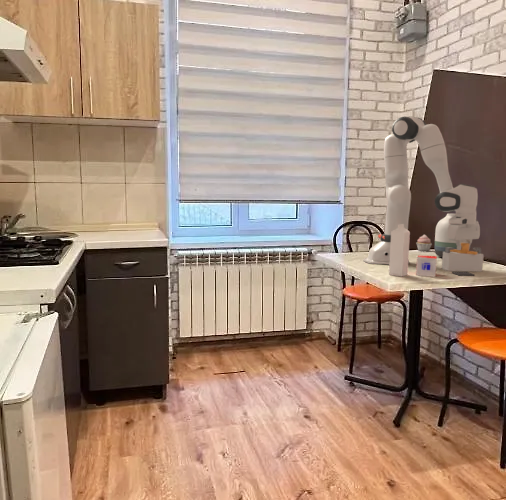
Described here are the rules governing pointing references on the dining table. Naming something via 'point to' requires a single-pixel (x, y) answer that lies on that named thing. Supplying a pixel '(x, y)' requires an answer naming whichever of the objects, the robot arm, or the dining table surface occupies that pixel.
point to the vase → (444, 236)
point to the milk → (399, 251)
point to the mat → (463, 273)
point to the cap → (464, 249)
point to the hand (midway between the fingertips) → (463, 249)
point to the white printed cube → (426, 265)
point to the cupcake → (424, 243)
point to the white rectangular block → (462, 260)
